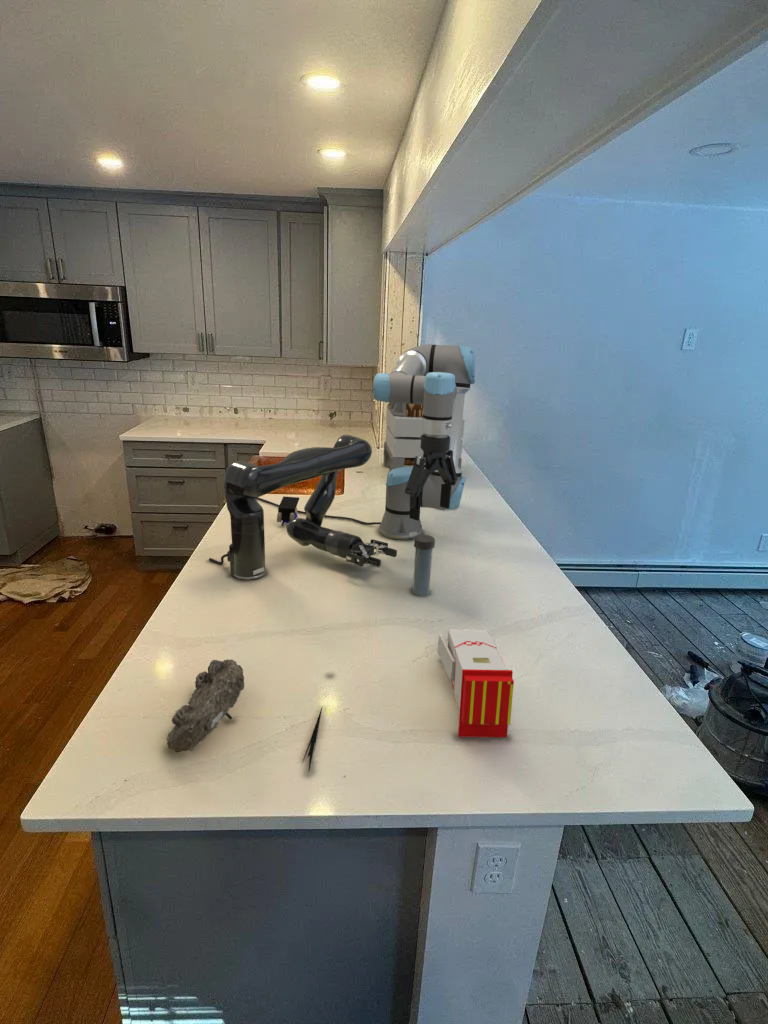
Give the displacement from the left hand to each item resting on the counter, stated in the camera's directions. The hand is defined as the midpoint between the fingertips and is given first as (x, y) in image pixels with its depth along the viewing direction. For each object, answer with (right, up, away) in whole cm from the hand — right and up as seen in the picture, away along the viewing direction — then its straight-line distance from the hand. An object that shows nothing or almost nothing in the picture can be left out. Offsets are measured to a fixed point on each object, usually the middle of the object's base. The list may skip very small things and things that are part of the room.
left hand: (388, 558), depth 164 cm
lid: (+10, +6, -9) cm, 15 cm away
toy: (+17, -24, -45) cm, 54 cm away
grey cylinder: (+9, -9, -4) cm, 13 cm away
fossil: (-34, -26, -55) cm, 70 cm away
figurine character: (-36, +10, +43) cm, 57 cm away
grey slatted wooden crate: (+16, +32, +111) cm, 117 cm away
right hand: (+11, +13, -12) cm, 21 cm away
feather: (-14, -26, -55) cm, 62 cm away
